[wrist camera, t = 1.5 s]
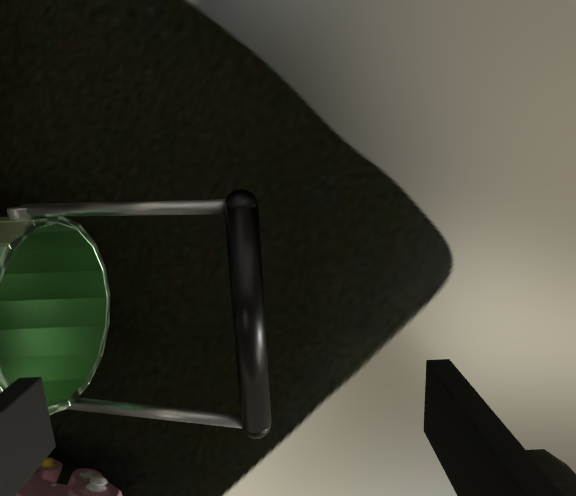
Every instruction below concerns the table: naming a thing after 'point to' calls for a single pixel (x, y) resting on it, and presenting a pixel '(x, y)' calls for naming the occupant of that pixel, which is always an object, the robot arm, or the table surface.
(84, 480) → the video game controller
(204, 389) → the table surface
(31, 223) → the bucket
